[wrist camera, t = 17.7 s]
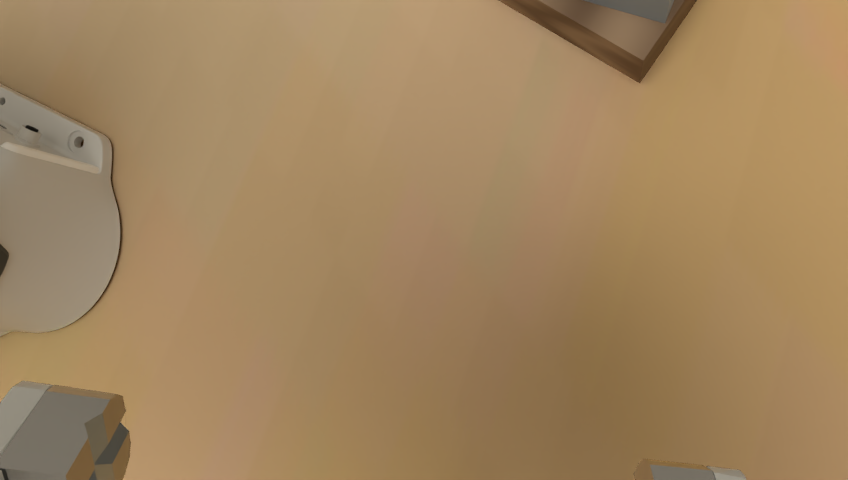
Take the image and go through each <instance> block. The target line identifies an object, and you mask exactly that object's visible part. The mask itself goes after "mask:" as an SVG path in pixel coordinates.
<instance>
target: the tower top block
mask: <svg viewBox="0 0 848 480" xmlns="http://www.w3.org/2000/svg"><path fill="white" fill-rule="evenodd" d="M584 1H587V2H591V3H594V4H598V5H601V6H605V7H608V8H612V9H615V10H619V11H622V12H626V13H629V14H633V15H636V16H640V17H644V18H647V19H651V20H654V21H658V22H661V23H665V22H666V20H667V17H668V15H669V12H670V9H671V7H672V4H673V2H674V0H584Z"/></svg>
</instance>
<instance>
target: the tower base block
mask: <svg viewBox="0 0 848 480" xmlns="http://www.w3.org/2000/svg"><path fill="white" fill-rule="evenodd" d="M499 1H501V2H502V3H504V4H506V5H507V6H509V7H511V8H513V9H514V10H516V11H518V12H519V13H521V14H523V15H525V16H526V17H528V18H530V19H531V20H533V21H535V22H536V23H538V24H540V25H542V26H543V27H545V28H547V29H548V30H550V31H552V32H554V33H555V34H557V35H559V36H560V37H562V38H564V39H565V40H567V41H569V42H571V43H572V44H574V45H576V46H577V47H579V48H581V49H583V50H584V51H586V52H588V53H589V54H591V55H593V56H594V57H596V58H598V59H600V60H601V61H603V62H605V63H606V64H608V65H610V66H611V67H613V68H615V69H617V70H618V71H620V72H622V73H623V74H625V75H627V76H629V77H630V78H632V79H634V80H635V81H637V82H639V83H640V82H641V81H642V79H643V78H644V76H645V75H646V73H647V72H648V70H649V69H650V68H651V66H652V65H653V63H654V62H655V60H656V59H657V57H658V56H659V55H660V53H661V52H662V50H663V49H664V47H665V46H666V44H667V43H668V41H669V40H670V39H671V37H672V36H673V34H674V33H675V31H676V30H677V28H678V27H679V25H680V24H681V23H682V21H683V20H684V18H685V17H686V15H687V14H688V12H689V11H690V10H691V8H692V7H693V5H694V4H695V2H696V1H697V0H674V2H673V4H672V7H671V9H670V12H669V15H668V17H667V20H666V22H665V23H661V22H658V21H654V20H651V19H647V18H644V17H640V16H636V15H633V14H629V13H626V12H622V11H619V10H615V9H612V8H608V7H605V6H601V5H598V4H594V3H591V2H587V1H584V0H499Z"/></svg>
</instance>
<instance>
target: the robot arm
mask: <svg viewBox="0 0 848 480" xmlns="http://www.w3.org/2000/svg"><path fill="white" fill-rule="evenodd" d="M82 140H84V144H83V146H82V147H81V142H82ZM111 166H112V146H111V143H110V140H109V139H108V138H107V137H106V136H105V135H104V134H102V133H100V132H98V131H96V130H94V129H92V128H89V127H87V126H85V125H83V124H81V123H79V122H77V121H75V120H73V119H71V118H69V117H67V116H65V115H63V114H61V113H59V112H57V111H55V110H53V109H51V108H49V107H47V106H45V105H43V104H41V103H39V102H37V101H35V100H33V99H31V98H28V97H26V96H24V95H22V94H20V93H18V92H16V91H14V90H12V89H10V88H8V87H6V86H4V85H2V84H0V336H2V335H5V334H7V333H9V332H30V333H42V332H49V331H54V330H57V329H60V328H63V327H65V326H67V325H69V324H71V323H73V322H74V321H76V320H77V319H79V318H80V317H81V316H83V315H84V314H85V313H86V312H87V311H88V310H89V309H90V308H91V307H92V306H93V305H94V304H95V303H96V302H97V300H98V299H99V298H100V296H101V295H102V293H103V292H104V290H105V288H106V287H107V285H108V283H109V281H110V278H111V276H112V274H113V271H114V268H115V265H116V261H117V257H118V252H119V245H120V220H119V213H118V208H117V204H116V200H115V197H114V193H113V190H112V185H111V179H110V177H111ZM125 412H126V409H125V405H124V400H123V396H121V395H118V394H112V393H105V392H99V391H92V390H85V389H79V388H72V387H65V386H59V385H50V384H43V383H35V382H28V381H21V382H20V383H18V384H16V385H15V386H13V387H12V388H11V389H10V391H9V392H8V393H7V395H6V396H5V397H4V398H3V400H2V401H1V402H0V480H123V478H124V475H125V472H126V468H127V465H128V461H129V457H130V445H131V441H130V434H129V431H128V430H127V429H126V428H125V427H124V426H123V425H122V424H121V423H120V421H121V419H122V418H123V416H124V414H125ZM634 478H635V480H746V477H745V475H744V474H743V473H742V472H741V471H740V470H736V469H727V468H719V467H711V466H706V467H705V466H704V465H697V464H688V463H679V462H670V461H661V460H652V459H642V460H641V461H640V462H639V463H638V465H637V467H636V470H635V472H634Z"/></svg>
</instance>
